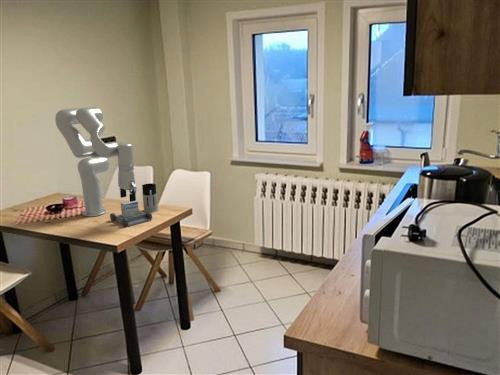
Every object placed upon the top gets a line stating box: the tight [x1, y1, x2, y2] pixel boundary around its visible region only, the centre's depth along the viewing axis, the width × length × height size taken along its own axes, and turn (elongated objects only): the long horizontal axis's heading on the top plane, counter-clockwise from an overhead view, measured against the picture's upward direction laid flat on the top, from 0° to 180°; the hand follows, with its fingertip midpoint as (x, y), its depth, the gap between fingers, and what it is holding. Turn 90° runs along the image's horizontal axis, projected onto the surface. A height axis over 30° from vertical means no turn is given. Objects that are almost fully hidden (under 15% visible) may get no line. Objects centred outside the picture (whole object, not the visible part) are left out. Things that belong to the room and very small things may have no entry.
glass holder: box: [141, 183, 160, 214], centre depth 236 cm, size 9×14×15 cm, turn 18°
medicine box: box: [120, 200, 140, 219], centre depth 223 cm, size 8×4×9 cm, turn 134°
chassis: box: [109, 210, 153, 227], centre depth 223 cm, size 17×15×4 cm
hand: (128, 199), depth 221 cm, fingers open, 9 cm apart
